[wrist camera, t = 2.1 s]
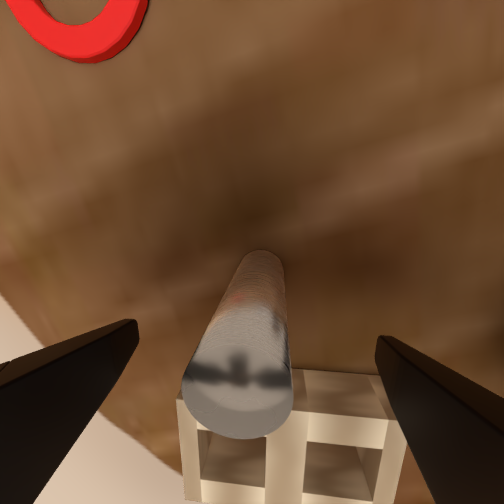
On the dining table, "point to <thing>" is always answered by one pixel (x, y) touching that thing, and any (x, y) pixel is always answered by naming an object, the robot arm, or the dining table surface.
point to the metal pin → (244, 356)
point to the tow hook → (82, 29)
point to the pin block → (302, 449)
